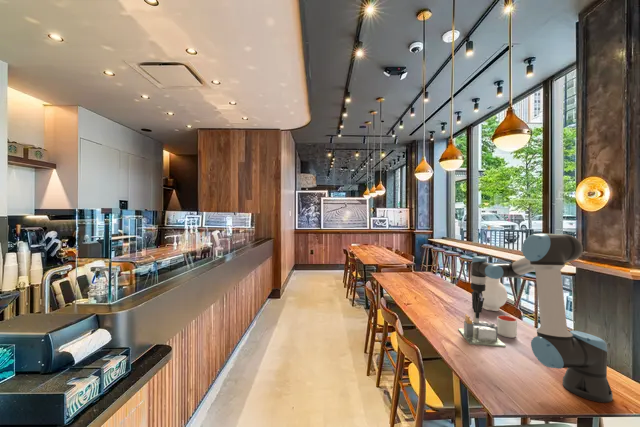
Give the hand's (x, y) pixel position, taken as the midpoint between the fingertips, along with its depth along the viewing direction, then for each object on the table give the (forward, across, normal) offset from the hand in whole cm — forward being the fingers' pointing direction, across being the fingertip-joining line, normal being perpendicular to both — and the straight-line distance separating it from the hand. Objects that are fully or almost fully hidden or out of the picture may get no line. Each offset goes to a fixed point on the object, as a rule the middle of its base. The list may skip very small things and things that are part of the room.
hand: (476, 322), depth 170 cm
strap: (+1, 0, -4) cm, 4 cm away
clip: (0, 0, +4) cm, 4 cm away
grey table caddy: (+9, 0, -2) cm, 9 cm away
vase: (+9, +57, -32) cm, 66 cm away
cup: (+9, +7, -20) cm, 23 cm away
